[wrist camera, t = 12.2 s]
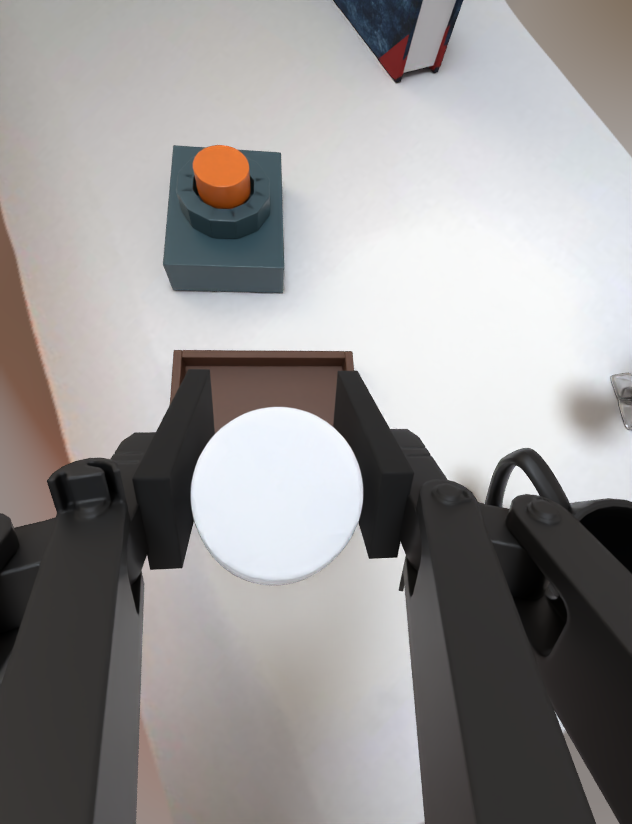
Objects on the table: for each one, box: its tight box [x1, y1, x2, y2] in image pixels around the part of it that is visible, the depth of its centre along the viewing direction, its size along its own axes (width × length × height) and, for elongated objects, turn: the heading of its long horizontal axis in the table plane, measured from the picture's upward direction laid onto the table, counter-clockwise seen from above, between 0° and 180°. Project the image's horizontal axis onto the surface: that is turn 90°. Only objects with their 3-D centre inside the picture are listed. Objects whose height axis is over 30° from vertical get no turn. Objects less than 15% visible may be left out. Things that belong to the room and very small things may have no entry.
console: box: [163, 145, 284, 293], centre depth 32 cm, size 12×9×5 cm
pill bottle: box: [191, 407, 363, 585], centre depth 13 cm, size 5×5×8 cm
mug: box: [485, 448, 632, 597], centre depth 24 cm, size 8×12×10 cm
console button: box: [193, 145, 251, 209], centre depth 29 cm, size 4×4×2 cm
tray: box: [170, 350, 354, 434], centre depth 28 cm, size 13×11×2 cm
